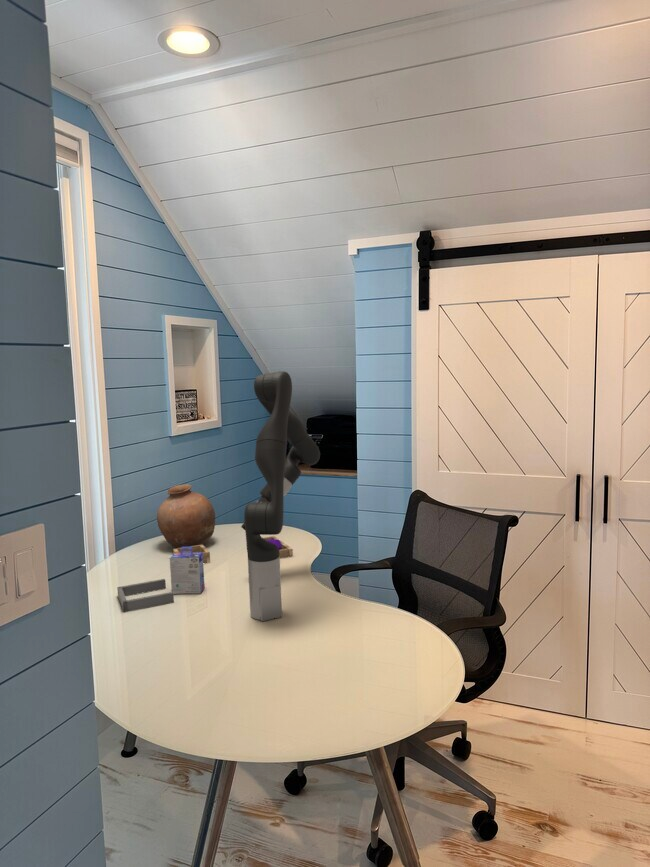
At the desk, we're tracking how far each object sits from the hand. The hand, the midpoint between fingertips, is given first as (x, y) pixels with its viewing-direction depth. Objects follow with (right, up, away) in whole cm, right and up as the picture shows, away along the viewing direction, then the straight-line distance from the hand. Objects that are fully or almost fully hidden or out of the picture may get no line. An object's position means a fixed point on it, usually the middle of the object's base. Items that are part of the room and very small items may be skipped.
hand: (243, 529), depth 202 cm
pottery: (-29, -14, +43) cm, 54 cm away
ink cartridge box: (-17, -19, -6) cm, 27 cm away
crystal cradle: (+6, -14, +32) cm, 36 cm away
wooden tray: (-23, -16, +24) cm, 37 cm away
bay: (-30, -20, -12) cm, 38 cm away
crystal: (+6, -14, +33) cm, 37 cm away
